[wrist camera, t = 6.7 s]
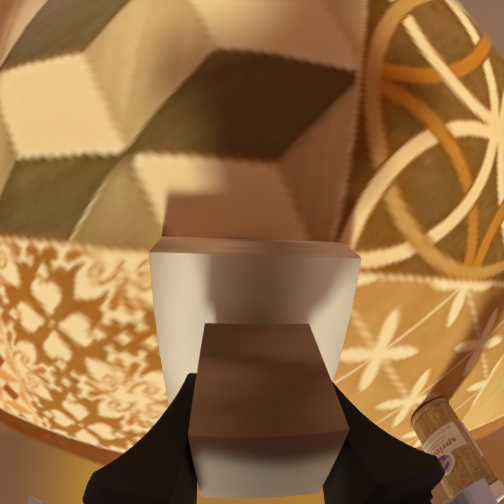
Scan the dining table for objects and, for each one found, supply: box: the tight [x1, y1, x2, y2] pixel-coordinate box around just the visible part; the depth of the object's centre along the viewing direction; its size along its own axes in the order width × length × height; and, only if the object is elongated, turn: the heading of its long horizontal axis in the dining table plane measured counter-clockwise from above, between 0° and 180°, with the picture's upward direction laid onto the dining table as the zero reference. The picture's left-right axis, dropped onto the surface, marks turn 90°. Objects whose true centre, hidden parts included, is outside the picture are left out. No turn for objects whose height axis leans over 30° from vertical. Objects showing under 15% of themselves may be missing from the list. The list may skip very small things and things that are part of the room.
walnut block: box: [188, 323, 349, 498], centre depth 11 cm, size 4×4×6 cm
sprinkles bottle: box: [411, 398, 504, 502], centre depth 16 cm, size 5×5×13 cm
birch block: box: [149, 236, 361, 404], centre depth 17 cm, size 10×10×3 cm
